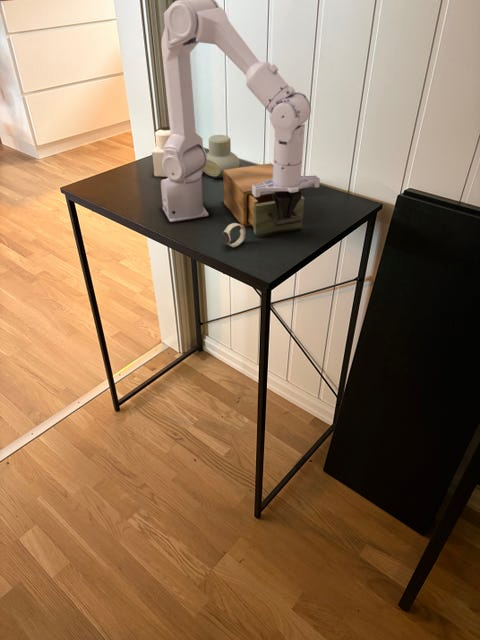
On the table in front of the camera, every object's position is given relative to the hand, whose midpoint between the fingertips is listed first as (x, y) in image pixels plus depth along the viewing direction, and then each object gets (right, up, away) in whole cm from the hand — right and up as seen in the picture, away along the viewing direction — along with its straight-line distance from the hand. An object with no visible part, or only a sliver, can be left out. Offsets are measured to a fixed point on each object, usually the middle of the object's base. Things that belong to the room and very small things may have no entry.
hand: (284, 222), depth 106 cm
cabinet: (-5, +6, +13) cm, 15 cm away
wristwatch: (-11, -5, 0) cm, 12 cm away
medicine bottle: (-29, +20, +32) cm, 48 cm away
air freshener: (-15, +20, +32) cm, 40 cm away
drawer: (-2, +1, +6) cm, 7 cm away
